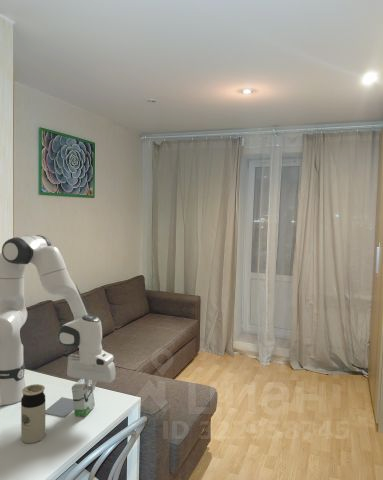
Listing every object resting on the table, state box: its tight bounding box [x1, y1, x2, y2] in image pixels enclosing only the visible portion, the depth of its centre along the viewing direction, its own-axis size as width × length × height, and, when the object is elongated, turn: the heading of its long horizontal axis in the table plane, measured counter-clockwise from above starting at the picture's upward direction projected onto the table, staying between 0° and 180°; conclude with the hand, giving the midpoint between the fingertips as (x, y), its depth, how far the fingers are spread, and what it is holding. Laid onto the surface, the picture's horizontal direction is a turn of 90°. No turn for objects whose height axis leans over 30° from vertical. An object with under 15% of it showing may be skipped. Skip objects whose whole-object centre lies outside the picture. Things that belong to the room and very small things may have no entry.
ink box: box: [71, 378, 96, 417], centre depth 153 cm, size 9×5×12 cm, turn 168°
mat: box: [45, 396, 74, 418], centre depth 156 cm, size 10×13×1 cm
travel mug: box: [20, 384, 46, 444], centre depth 135 cm, size 8×8×18 cm
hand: (90, 389), depth 152 cm, fingers closed
